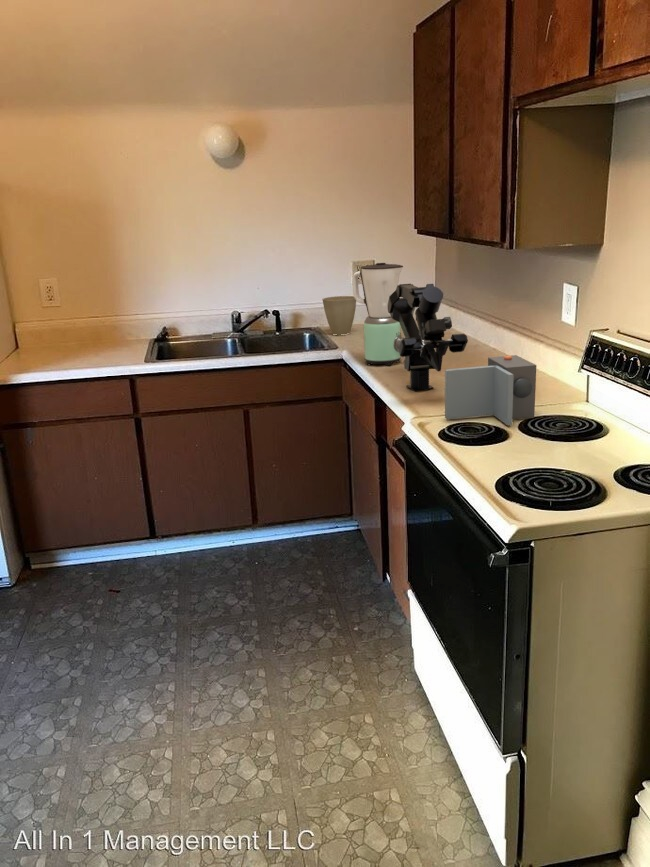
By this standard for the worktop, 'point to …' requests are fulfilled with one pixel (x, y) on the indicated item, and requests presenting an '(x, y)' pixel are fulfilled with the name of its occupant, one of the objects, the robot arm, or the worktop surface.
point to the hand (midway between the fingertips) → (439, 370)
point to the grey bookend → (479, 393)
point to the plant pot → (340, 313)
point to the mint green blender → (379, 312)
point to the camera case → (519, 384)
